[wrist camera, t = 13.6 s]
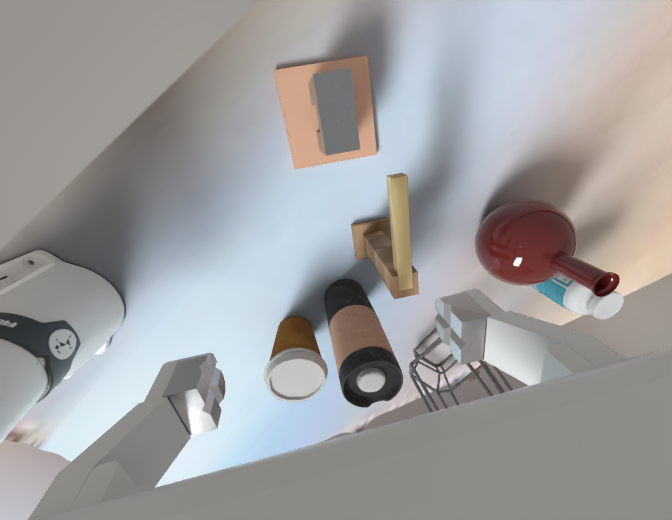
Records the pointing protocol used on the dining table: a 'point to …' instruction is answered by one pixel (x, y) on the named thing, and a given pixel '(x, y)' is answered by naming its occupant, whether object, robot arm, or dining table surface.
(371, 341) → the travel mug
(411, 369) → the geometric lantern
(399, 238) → the stand
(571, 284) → the pill bottle
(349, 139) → the brushed grey metal block
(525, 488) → the robot arm
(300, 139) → the tile
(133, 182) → the dining table surface
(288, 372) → the disposable coffee cup
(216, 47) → the dining table surface
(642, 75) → the dining table surface
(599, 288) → the round-bottom flask
